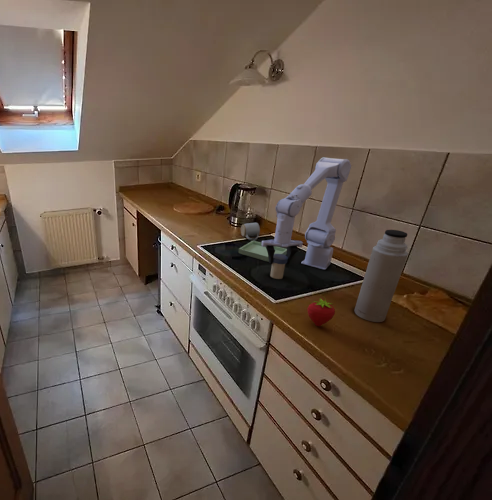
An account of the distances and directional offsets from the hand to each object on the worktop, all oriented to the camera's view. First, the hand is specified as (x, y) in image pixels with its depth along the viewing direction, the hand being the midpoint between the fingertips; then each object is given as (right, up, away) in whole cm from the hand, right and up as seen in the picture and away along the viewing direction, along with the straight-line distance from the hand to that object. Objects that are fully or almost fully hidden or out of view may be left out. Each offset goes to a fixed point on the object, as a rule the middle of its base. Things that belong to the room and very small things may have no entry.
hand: (278, 263), depth 117 cm
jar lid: (0, +2, -1) cm, 2 cm away
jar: (0, -5, +2) cm, 6 cm away
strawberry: (-1, -18, -27) cm, 32 cm away
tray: (+3, +4, +23) cm, 24 cm away
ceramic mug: (+5, +12, +43) cm, 44 cm away
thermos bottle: (+19, -16, -23) cm, 33 cm away
